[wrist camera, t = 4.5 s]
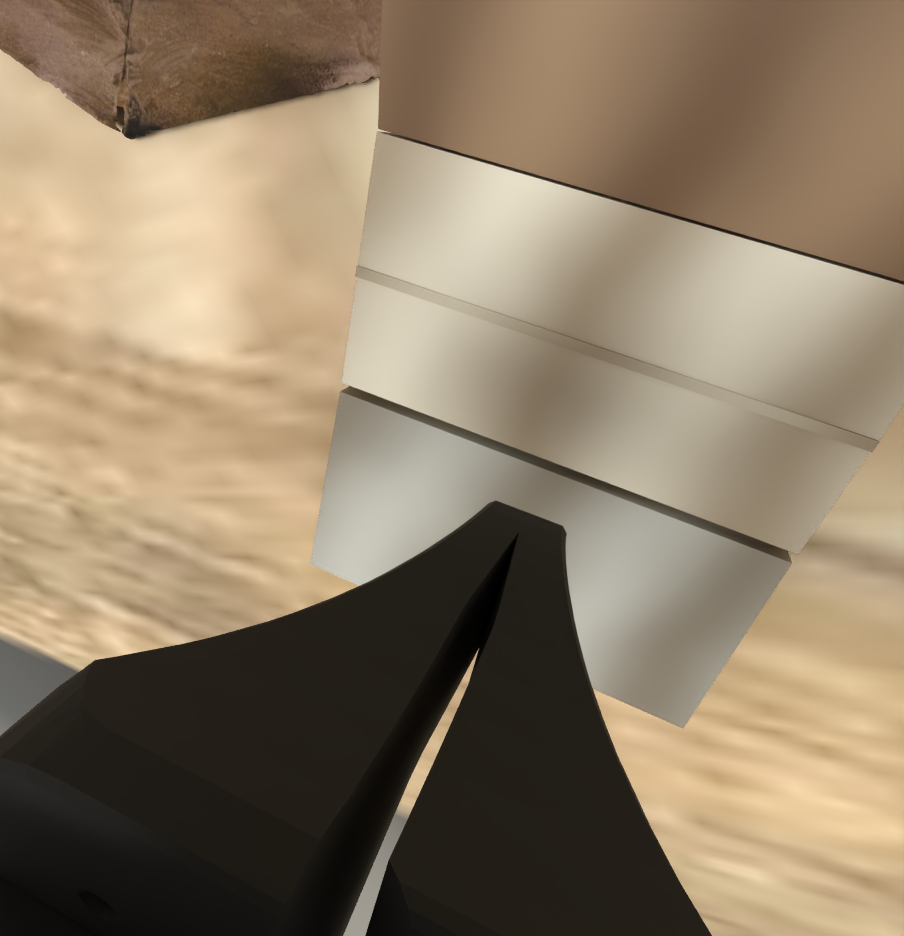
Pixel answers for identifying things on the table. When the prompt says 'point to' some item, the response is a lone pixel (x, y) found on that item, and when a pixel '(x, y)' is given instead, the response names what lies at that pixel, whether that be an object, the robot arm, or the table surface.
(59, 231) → the table surface
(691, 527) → the grey oak plank
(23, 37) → the fossil skeleton slab
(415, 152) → the ash board
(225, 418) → the table surface
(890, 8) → the walnut plank
